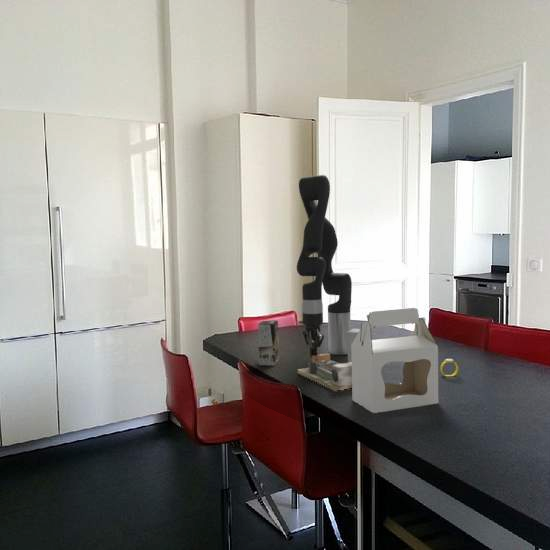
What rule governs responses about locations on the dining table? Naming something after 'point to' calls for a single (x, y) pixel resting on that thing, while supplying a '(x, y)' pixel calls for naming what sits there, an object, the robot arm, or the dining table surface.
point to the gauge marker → (312, 368)
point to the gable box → (376, 353)
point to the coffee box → (268, 343)
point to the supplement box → (351, 341)
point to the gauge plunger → (323, 361)
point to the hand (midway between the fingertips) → (313, 357)
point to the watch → (449, 362)
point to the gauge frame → (331, 376)
